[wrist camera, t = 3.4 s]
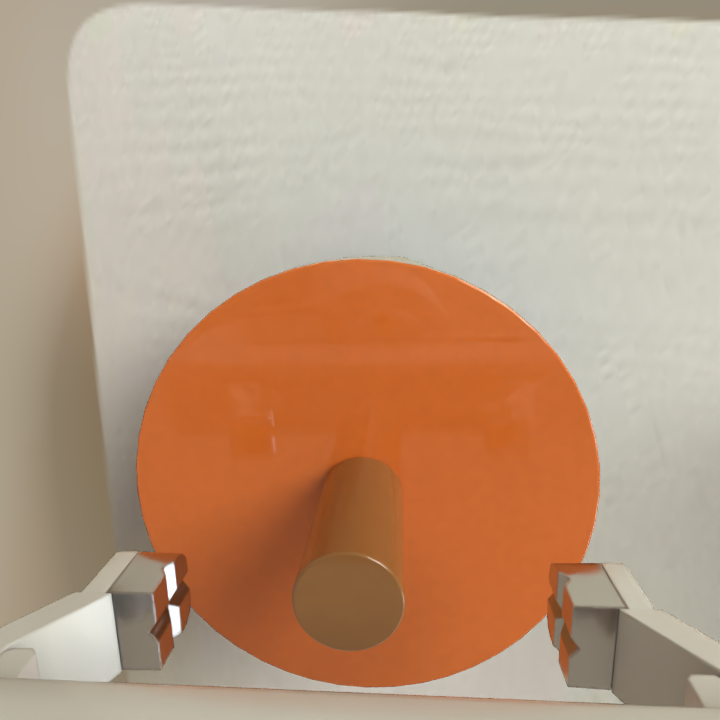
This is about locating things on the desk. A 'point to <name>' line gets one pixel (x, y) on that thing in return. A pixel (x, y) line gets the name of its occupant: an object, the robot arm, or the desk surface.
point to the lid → (368, 471)
